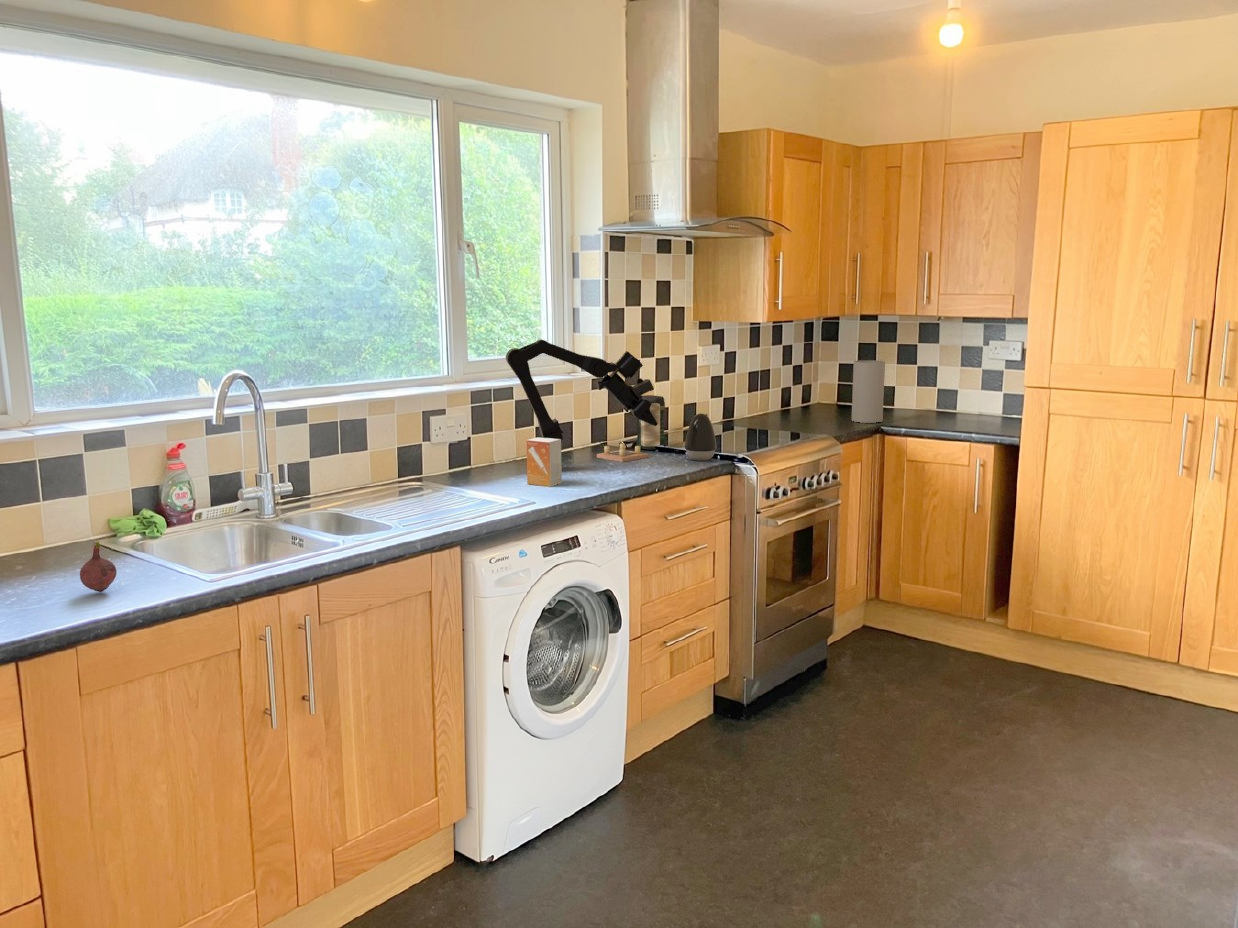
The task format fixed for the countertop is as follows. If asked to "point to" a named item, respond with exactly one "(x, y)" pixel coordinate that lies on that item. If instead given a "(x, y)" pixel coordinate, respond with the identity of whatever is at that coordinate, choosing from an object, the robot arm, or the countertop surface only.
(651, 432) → the maple block
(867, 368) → the cylinder vase
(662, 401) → the coffee jar
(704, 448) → the dark egg shaped diffuser
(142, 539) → the countertop surface
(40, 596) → the countertop surface
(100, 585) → the vegetable
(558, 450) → the small box
